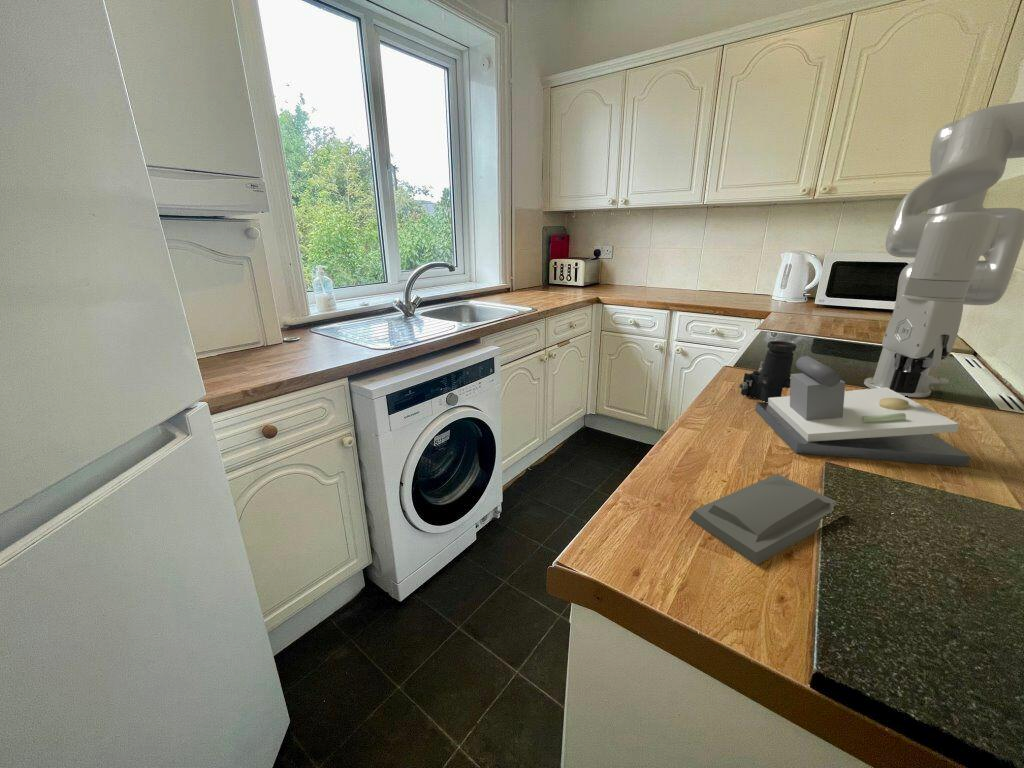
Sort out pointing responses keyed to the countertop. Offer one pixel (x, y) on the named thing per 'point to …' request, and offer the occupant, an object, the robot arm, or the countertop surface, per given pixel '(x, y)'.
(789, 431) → the leveling base
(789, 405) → the leveling plate
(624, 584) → the countertop surface
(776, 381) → the scope
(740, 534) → the soap mold
